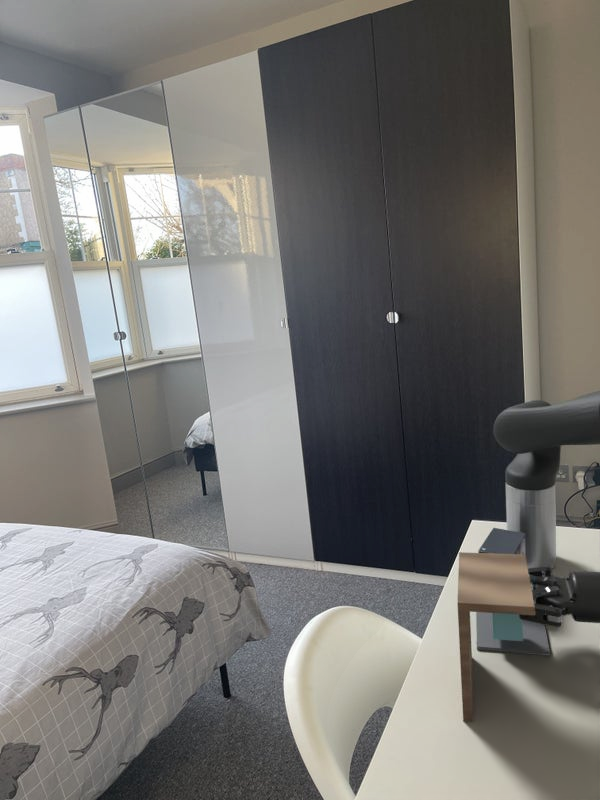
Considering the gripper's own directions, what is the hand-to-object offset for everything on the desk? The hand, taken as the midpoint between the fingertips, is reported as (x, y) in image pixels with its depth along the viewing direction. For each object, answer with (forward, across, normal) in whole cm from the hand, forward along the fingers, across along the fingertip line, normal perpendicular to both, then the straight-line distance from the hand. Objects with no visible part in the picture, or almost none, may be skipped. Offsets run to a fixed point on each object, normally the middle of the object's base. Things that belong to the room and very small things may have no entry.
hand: (488, 591), depth 97 cm
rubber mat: (-3, -3, +9) cm, 10 cm away
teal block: (-3, 0, +7) cm, 8 cm away
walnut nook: (-1, +11, +9) cm, 14 cm away
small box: (-3, -16, +10) cm, 19 cm away
